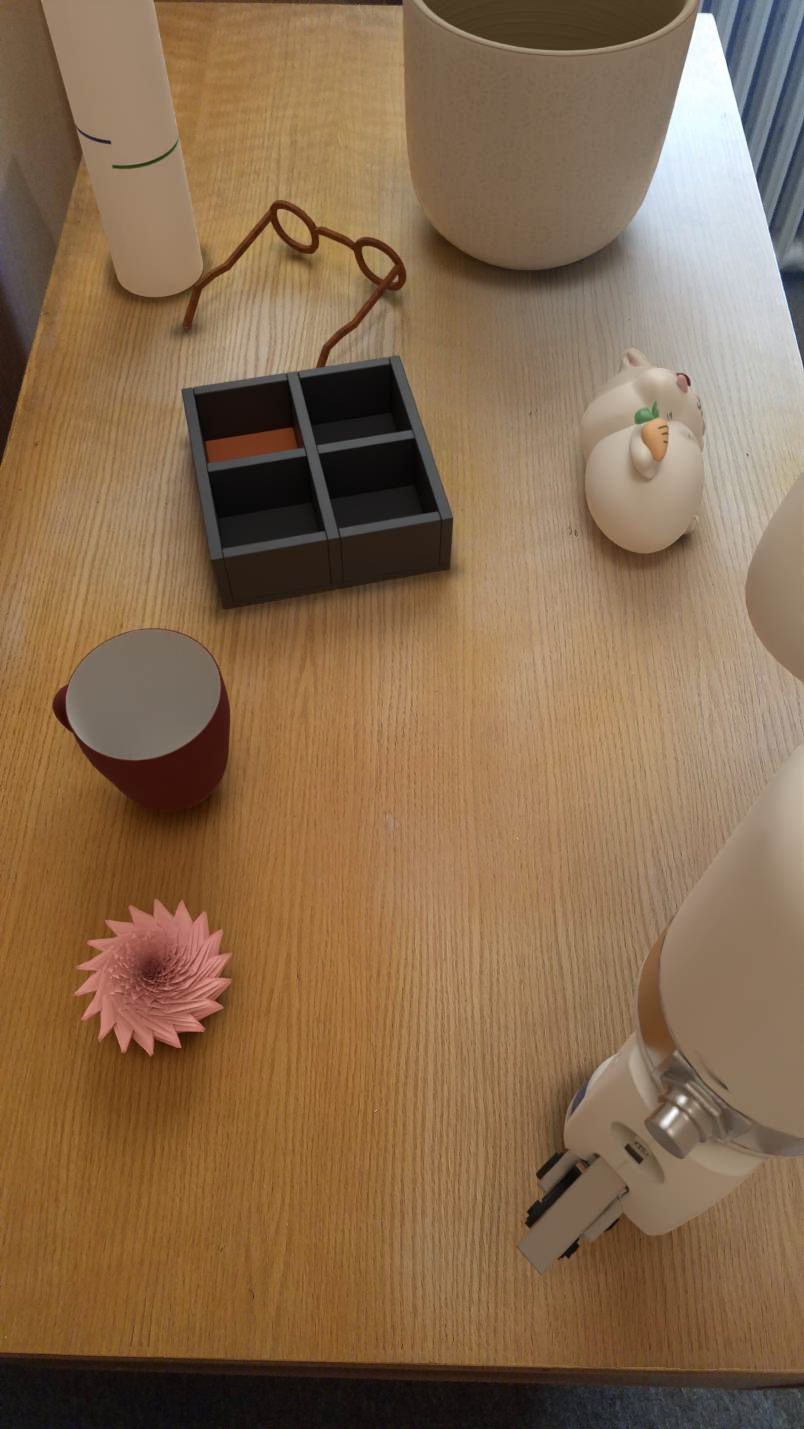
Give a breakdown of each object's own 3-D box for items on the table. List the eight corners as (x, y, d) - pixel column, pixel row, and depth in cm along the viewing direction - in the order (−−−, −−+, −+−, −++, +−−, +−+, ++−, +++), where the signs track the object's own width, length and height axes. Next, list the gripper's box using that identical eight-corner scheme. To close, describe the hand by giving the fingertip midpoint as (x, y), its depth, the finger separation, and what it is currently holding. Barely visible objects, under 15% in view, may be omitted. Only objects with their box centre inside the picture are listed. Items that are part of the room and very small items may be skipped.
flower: (118, 1098, 51) (89, 1077, 47) (73, 957, 55) (42, 924, 50) (265, 1029, 53) (251, 1002, 48) (212, 897, 57) (194, 859, 52)
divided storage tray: (399, 409, 76) (399, 354, 72) (450, 568, 68) (453, 518, 64) (193, 442, 74) (181, 388, 70) (222, 609, 67) (210, 560, 62)
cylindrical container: (142, 233, 86) (57, -124, 65) (218, 253, 85) (156, -105, 64) (100, 284, 83) (-5, -75, 62) (178, 305, 82) (98, -54, 60)
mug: (51, 820, 59) (-9, 737, 50) (99, 703, 63) (52, 607, 54) (226, 854, 58) (195, 775, 49) (264, 734, 62) (242, 641, 53)
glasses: (409, 299, 82) (409, 243, 78) (314, 394, 77) (309, 339, 73) (279, 242, 86) (272, 186, 82) (179, 329, 80) (167, 273, 76)
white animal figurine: (687, 486, 60) (670, 294, 66) (560, 523, 64) (554, 339, 70) (731, 564, 67) (712, 385, 73) (614, 592, 71) (605, 420, 77)
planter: (633, 155, 92) (683, -94, 76) (657, 307, 82) (722, 56, 65) (404, 152, 93) (405, -97, 76) (399, 303, 82) (399, 52, 66)
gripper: (687, 1369, 25) (573, 1352, 39) (1045, 908, 31) (832, 1042, 46) (468, 1127, 27) (438, 1195, 42) (838, 748, 34) (700, 923, 48)
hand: (643, 1115), depth 44 cm, fingers open, 9 cm apart
